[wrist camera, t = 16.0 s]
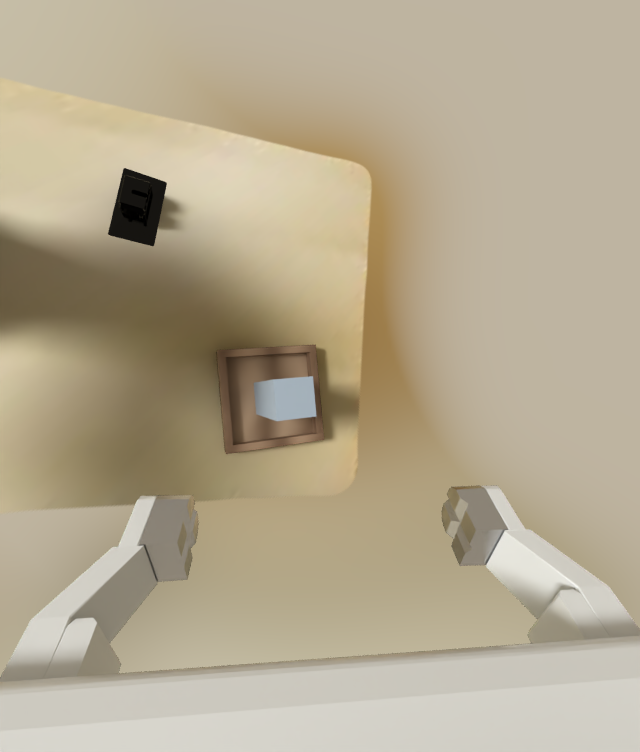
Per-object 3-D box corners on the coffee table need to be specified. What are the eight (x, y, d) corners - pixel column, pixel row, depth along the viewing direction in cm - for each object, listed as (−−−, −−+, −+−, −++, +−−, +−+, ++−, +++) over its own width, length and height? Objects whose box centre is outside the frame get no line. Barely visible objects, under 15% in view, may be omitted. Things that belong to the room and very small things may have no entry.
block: (256, 414, 53) (276, 421, 39) (253, 382, 53) (273, 379, 39) (286, 410, 54) (316, 416, 41) (284, 380, 54) (312, 376, 41)
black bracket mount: (157, 259, 50) (154, 247, 46) (98, 244, 48) (89, 229, 44) (175, 176, 52) (174, 156, 47) (118, 156, 49) (111, 134, 45)
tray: (224, 451, 52) (226, 453, 49) (216, 352, 52) (217, 350, 49) (318, 437, 56) (324, 439, 54) (310, 346, 56) (315, 344, 54)
